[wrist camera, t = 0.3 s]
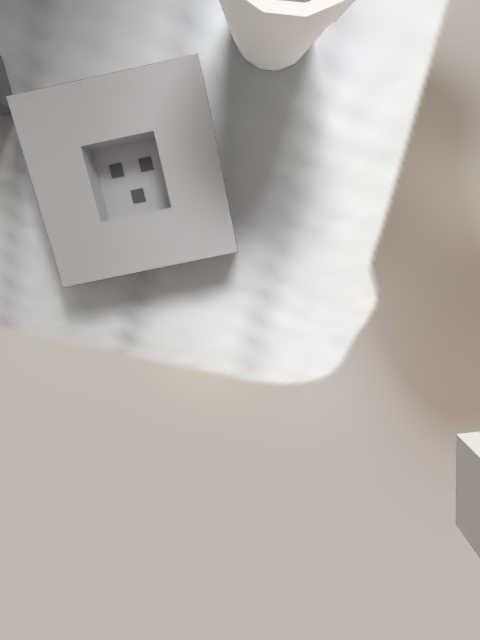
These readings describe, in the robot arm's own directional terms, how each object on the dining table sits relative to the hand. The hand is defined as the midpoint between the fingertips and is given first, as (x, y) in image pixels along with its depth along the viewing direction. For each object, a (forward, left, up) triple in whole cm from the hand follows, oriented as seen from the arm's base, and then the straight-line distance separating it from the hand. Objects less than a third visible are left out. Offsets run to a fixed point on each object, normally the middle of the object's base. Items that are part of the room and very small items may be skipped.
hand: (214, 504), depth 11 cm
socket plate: (-12, -5, -27) cm, 30 cm away
